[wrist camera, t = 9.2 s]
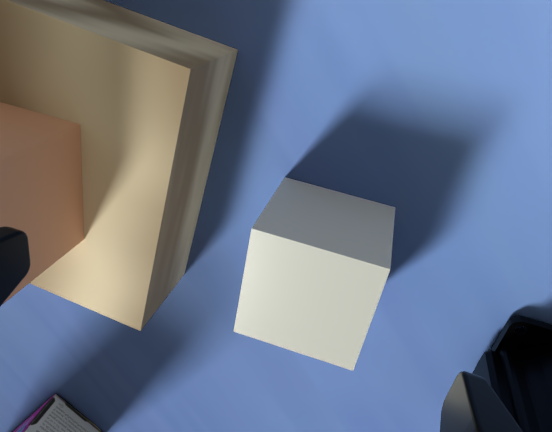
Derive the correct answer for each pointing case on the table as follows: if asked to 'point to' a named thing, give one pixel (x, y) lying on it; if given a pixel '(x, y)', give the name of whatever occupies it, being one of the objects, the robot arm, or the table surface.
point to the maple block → (121, 139)
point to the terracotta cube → (41, 184)
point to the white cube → (315, 271)
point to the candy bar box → (57, 419)
